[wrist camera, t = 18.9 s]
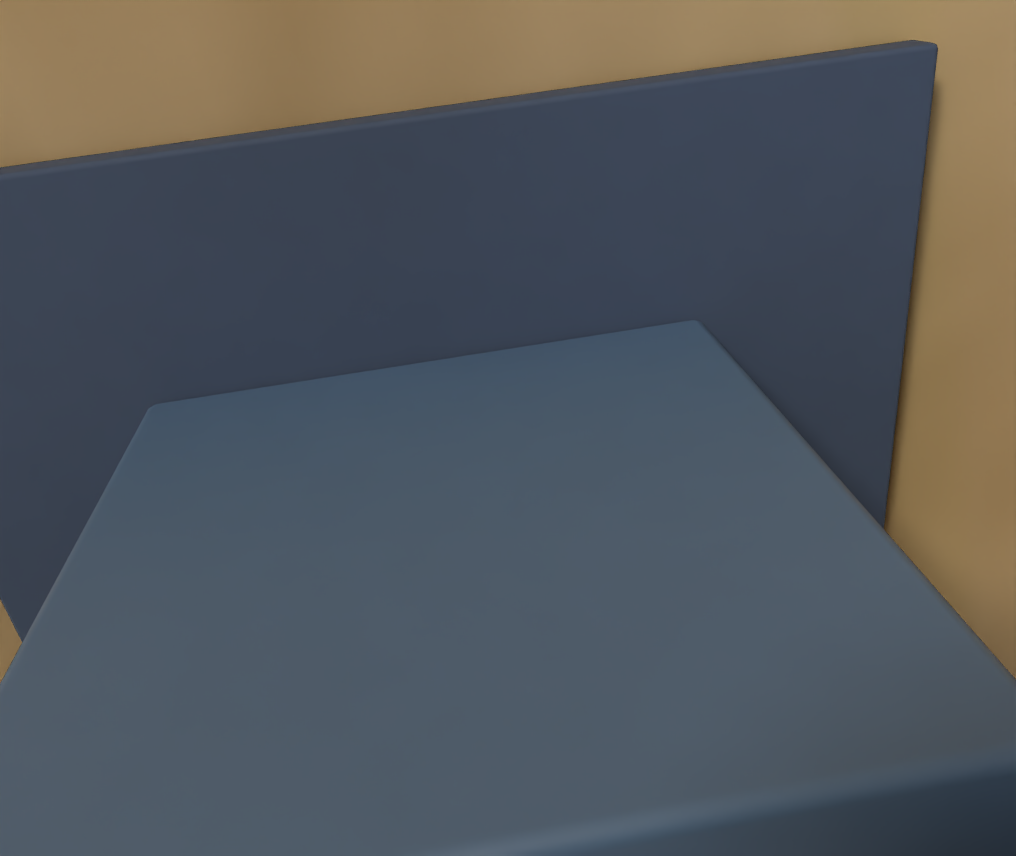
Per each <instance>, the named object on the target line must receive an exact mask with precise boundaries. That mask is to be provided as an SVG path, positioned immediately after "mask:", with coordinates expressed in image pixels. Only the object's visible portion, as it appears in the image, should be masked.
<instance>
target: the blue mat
mask: <svg viewBox="0 0 1016 856" xmlns="http://www.w3.org/2000/svg"><path fill="white" fill-rule="evenodd" d="M937 52H938V48H937V45H936V44H934V43H930V42H923V41H916V40H909V41H902V42H895V43H887V44H880V45H873V46H866V47H859V48H852V49H845V50H837V51H830V52H823V53H816V54H809V55H802V56H795V57H787V58H780V59H773V60H766V61H759V62H752V63H745V64H737V65H730V66H723V67H716V68H709V69H702V70H695V71H687V72H680V73H673V74H666V75H659V76H652V77H645V78H637V79H630V80H623V81H616V82H609V83H602V84H594V85H587V86H580V87H573V88H566V89H559V90H552V91H544V92H537V93H530V94H523V95H516V96H509V97H502V98H494V99H487V100H480V101H473V102H466V103H459V104H452V105H444V106H437V107H430V108H423V109H416V110H409V111H402V112H394V113H387V114H380V115H373V116H366V117H359V118H352V119H344V120H337V121H330V122H323V123H316V124H309V125H301V126H294V127H287V128H280V129H273V130H266V131H259V132H251V133H244V134H237V135H230V136H223V137H216V138H209V139H201V140H194V141H187V142H180V143H173V144H166V145H159V146H151V147H144V148H137V149H130V150H123V151H116V152H109V153H101V154H94V155H87V156H80V157H73V158H66V159H59V160H51V161H44V162H37V163H30V164H23V165H16V166H9V167H1V168H0V599H1V601H2V603H3V605H4V607H5V609H6V611H7V613H8V615H9V617H10V619H11V621H12V623H13V625H14V627H15V629H16V631H17V633H18V635H19V637H20V639H21V641H22V642H23V640H24V639H25V637H26V635H27V633H28V631H29V629H30V627H31V626H32V624H33V622H34V620H35V618H36V616H37V614H38V613H39V611H40V609H41V607H42V605H43V603H44V601H45V600H46V598H47V596H48V594H49V592H50V590H51V588H52V587H53V585H54V583H55V581H56V579H57V577H58V575H59V574H60V572H61V570H62V568H63V566H64V564H65V562H66V561H67V559H68V557H69V555H70V553H71V551H72V549H73V548H74V546H75V544H76V542H77V540H78V538H79V536H80V535H81V533H82V531H83V529H84V527H85V525H86V524H87V522H88V520H89V518H90V516H91V514H92V512H93V511H94V509H95V507H96V505H97V503H98V501H99V499H100V498H101V496H102V494H103V492H104V490H105V488H106V486H107V485H108V483H109V481H110V479H111V477H112V475H113V473H114V472H115V470H116V468H117V466H118V464H119V462H120V460H121V459H122V457H123V455H124V453H125V451H126V449H127V447H128V446H129V444H130V442H131V440H132V438H133V436H134V434H135V433H136V431H137V429H138V427H139V425H140V423H141V421H142V420H143V418H144V416H145V414H146V412H147V410H148V408H150V407H152V406H154V405H155V404H160V403H166V402H173V401H179V400H185V399H192V398H198V397H205V396H211V395H217V394H224V393H230V392H236V391H243V390H249V389H256V388H262V387H268V386H275V385H281V384H288V383H294V382H300V381H307V380H313V379H320V378H326V377H332V376H339V375H345V374H351V373H358V372H364V371H371V370H377V369H383V368H390V367H396V366H403V365H409V364H415V363H422V362H428V361H434V360H441V359H447V358H454V357H460V356H466V355H473V354H479V353H486V352H492V351H498V350H505V349H511V348H518V347H524V346H530V345H537V344H543V343H549V342H556V341H562V340H569V339H575V338H581V337H588V336H594V335H601V334H607V333H613V332H620V331H626V330H632V329H639V328H645V327H652V326H658V325H664V324H671V323H677V322H684V321H690V320H696V321H700V322H702V323H703V324H704V326H705V327H706V328H707V329H708V330H709V331H710V332H711V333H712V335H713V336H714V337H715V338H716V339H717V340H718V341H719V343H720V344H721V345H722V346H723V347H724V348H725V349H726V351H727V352H728V353H729V354H730V355H731V356H732V357H733V358H734V360H735V361H736V362H737V363H738V364H739V365H740V366H741V368H742V369H743V370H744V371H745V372H746V373H747V374H748V376H749V377H750V378H751V379H752V380H753V381H754V382H755V384H756V385H757V386H758V387H759V388H760V389H761V390H762V391H763V393H764V394H765V395H766V396H767V397H768V398H769V399H770V401H771V402H772V403H773V404H774V405H775V406H776V407H777V409H778V410H779V411H780V412H781V413H782V414H783V415H784V417H785V418H786V419H787V420H788V421H789V422H790V423H791V424H792V426H793V427H794V428H795V429H796V430H797V431H798V432H799V434H800V435H801V436H802V437H803V438H804V439H805V440H806V442H807V443H808V444H809V445H810V446H811V447H812V448H813V449H814V451H815V452H816V453H817V454H818V455H819V456H820V457H821V459H822V460H823V461H824V462H825V463H826V464H827V465H828V467H829V468H830V469H831V470H832V471H833V472H834V473H835V475H836V476H837V477H838V478H839V479H840V480H841V481H842V482H843V484H844V485H845V486H846V487H847V488H848V489H849V490H850V492H851V493H852V494H853V495H854V496H855V497H856V498H857V500H858V501H859V502H860V503H861V504H862V505H863V506H864V507H865V509H866V510H867V511H868V512H869V513H870V514H871V515H872V517H873V518H874V519H875V520H876V521H877V522H878V523H879V525H880V526H881V527H882V528H883V529H884V523H885V514H886V505H887V496H888V487H889V479H890V470H891V461H892V452H893V443H894V434H895V425H896V416H897V407H898V398H899V390H900V381H901V372H902V363H903V354H904V345H905V336H906V327H907V318H908V310H909V301H910V292H911V283H912V274H913V265H914V256H915V247H916V238H917V230H918V221H919V212H920V203H921V194H922V185H923V176H924V167H925V158H926V150H927V141H928V132H929V123H930V114H931V105H932V96H933V87H934V78H935V70H936V61H937Z"/></svg>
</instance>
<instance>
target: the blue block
mask: <svg viewBox="0 0 1016 856" xmlns="http://www.w3.org/2000/svg"><path fill="white" fill-rule="evenodd" d="M0 856H1016V679H1015V678H1014V677H1013V676H1012V675H1011V674H1010V672H1009V671H1008V670H1007V669H1006V668H1005V667H1004V666H1003V664H1002V663H1001V662H1000V661H999V660H998V659H997V658H996V656H995V655H994V654H993V653H992V652H991V651H990V650H989V649H988V647H987V646H986V645H985V644H984V643H983V642H982V641H981V639H980V638H979V637H978V636H977V635H976V634H975V633H974V631H973V630H972V629H971V628H970V627H969V626H968V625H967V624H966V622H965V621H964V620H963V619H962V618H961V617H960V616H959V614H958V613H957V612H956V611H955V610H954V609H953V608H952V606H951V605H950V604H949V603H948V602H947V601H946V600H945V598H944V597H943V596H942V595H941V594H940V593H939V592H938V591H937V589H936V588H935V587H934V586H933V585H932V584H931V583H930V581H929V580H928V579H927V578H926V577H925V576H924V575H923V573H922V572H921V571H920V570H919V569H918V568H917V567H916V566H915V564H914V563H913V562H912V561H911V560H910V559H909V558H908V556H907V555H906V554H905V553H904V552H903V551H902V550H901V548H900V547H899V546H898V545H897V544H896V543H895V542H894V540H893V539H892V538H891V537H890V536H889V535H888V534H887V533H886V531H885V530H884V529H883V528H882V527H881V526H880V525H879V523H878V522H877V521H876V520H875V519H874V518H873V517H872V515H871V514H870V513H869V512H868V511H867V510H866V509H865V507H864V506H863V505H862V504H861V503H860V502H859V501H858V500H857V498H856V497H855V496H854V495H853V494H852V493H851V492H850V490H849V489H848V488H847V487H846V486H845V485H844V484H843V482H842V481H841V480H840V479H839V478H838V477H837V476H836V475H835V473H834V472H833V471H832V470H831V469H830V468H829V467H828V465H827V464H826V463H825V462H824V461H823V460H822V459H821V457H820V456H819V455H818V454H817V453H816V452H815V451H814V449H813V448H812V447H811V446H810V445H809V444H808V443H807V442H806V440H805V439H804V438H803V437H802V436H801V435H800V434H799V432H798V431H797V430H796V429H795V428H794V427H793V426H792V424H791V423H790V422H789V421H788V420H787V419H786V418H785V417H784V415H783V414H782V413H781V412H780V411H779V410H778V409H777V407H776V406H775V405H774V404H773V403H772V402H771V401H770V399H769V398H768V397H767V396H766V395H765V394H764V393H763V391H762V390H761V389H760V388H759V387H758V386H757V385H756V384H755V382H754V381H753V380H752V379H751V378H750V377H749V376H748V374H747V373H746V372H745V371H744V370H743V369H742V368H741V366H740V365H739V364H738V363H737V362H736V361H735V360H734V358H733V357H732V356H731V355H730V354H729V353H728V352H727V351H726V349H725V348H724V347H723V346H722V345H721V344H720V343H719V341H718V340H717V339H716V338H715V337H714V336H713V335H712V333H711V332H710V331H709V330H708V329H707V328H706V327H705V326H704V324H703V323H702V322H700V321H696V320H690V321H684V322H677V323H671V324H664V325H658V326H652V327H645V328H639V329H632V330H626V331H620V332H613V333H607V334H601V335H594V336H588V337H581V338H575V339H569V340H562V341H556V342H549V343H543V344H537V345H530V346H524V347H518V348H511V349H505V350H498V351H492V352H486V353H479V354H473V355H466V356H460V357H454V358H447V359H441V360H434V361H428V362H422V363H415V364H409V365H403V366H396V367H390V368H383V369H377V370H371V371H364V372H358V373H351V374H345V375H339V376H332V377H326V378H320V379H313V380H307V381H300V382H294V383H288V384H281V385H275V386H268V387H262V388H256V389H249V390H243V391H236V392H230V393H224V394H217V395H211V396H205V397H198V398H192V399H185V400H179V401H173V402H166V403H160V404H155V405H154V406H152V407H150V408H148V410H147V412H146V414H145V416H144V418H143V420H142V421H141V423H140V425H139V427H138V429H137V431H136V433H135V434H134V436H133V438H132V440H131V442H130V444H129V446H128V447H127V449H126V451H125V453H124V455H123V457H122V459H121V460H120V462H119V464H118V466H117V468H116V470H115V472H114V473H113V475H112V477H111V479H110V481H109V483H108V485H107V486H106V488H105V490H104V492H103V494H102V496H101V498H100V499H99V501H98V503H97V505H96V507H95V509H94V511H93V512H92V514H91V516H90V518H89V520H88V522H87V524H86V525H85V527H84V529H83V531H82V533H81V535H80V536H79V538H78V540H77V542H76V544H75V546H74V548H73V549H72V551H71V553H70V555H69V557H68V559H67V561H66V562H65V564H64V566H63V568H62V570H61V572H60V574H59V575H58V577H57V579H56V581H55V583H54V585H53V587H52V588H51V590H50V592H49V594H48V596H47V598H46V600H45V601H44V603H43V605H42V607H41V609H40V611H39V613H38V614H37V616H36V618H35V620H34V622H33V624H32V626H31V627H30V629H29V631H28V633H27V635H26V637H25V639H24V640H23V642H22V644H21V646H20V648H19V650H18V652H17V653H16V655H15V657H14V659H13V661H12V663H11V665H10V666H9V668H8V670H7V672H6V674H5V676H4V678H3V679H2V681H1V683H0Z"/></svg>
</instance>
